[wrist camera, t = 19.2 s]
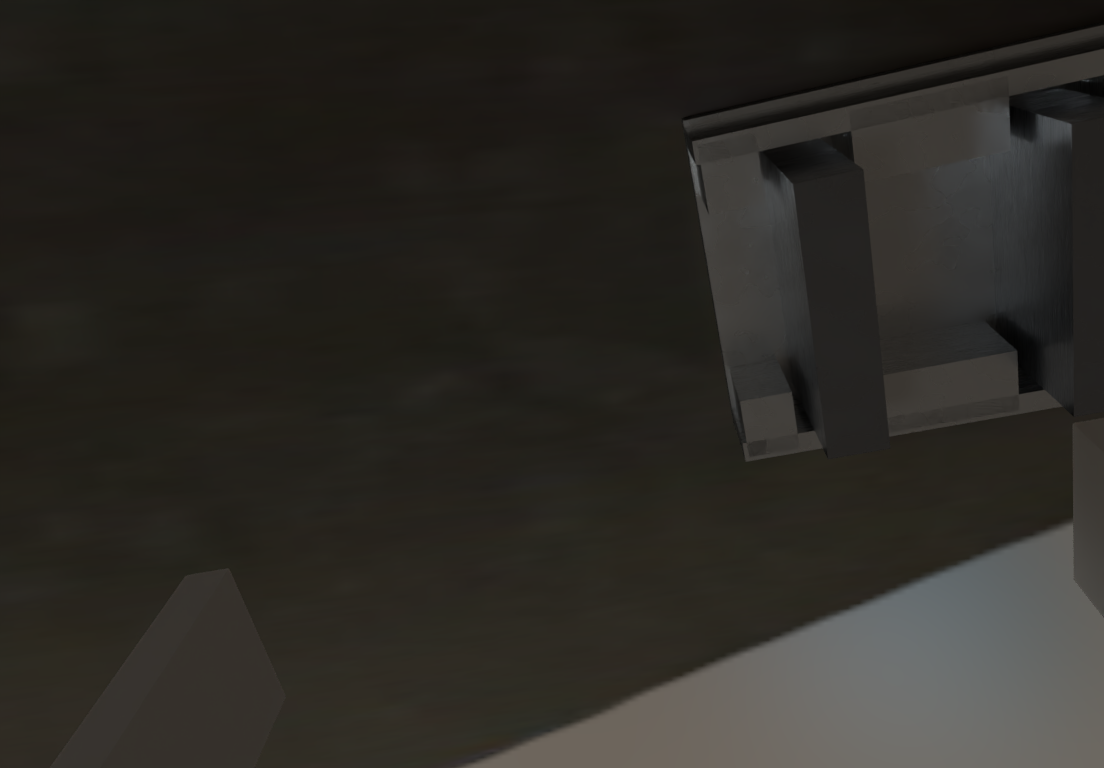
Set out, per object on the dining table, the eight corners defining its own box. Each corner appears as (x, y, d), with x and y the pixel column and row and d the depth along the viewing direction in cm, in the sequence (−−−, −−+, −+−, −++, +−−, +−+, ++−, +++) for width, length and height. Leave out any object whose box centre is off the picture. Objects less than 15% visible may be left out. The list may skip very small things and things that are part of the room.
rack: (733, 422, 48) (759, 511, 40) (681, 118, 42) (699, 150, 34) (1339, 313, 44) (1504, 387, 36) (1380, -42, 38) (1589, -49, 30)
